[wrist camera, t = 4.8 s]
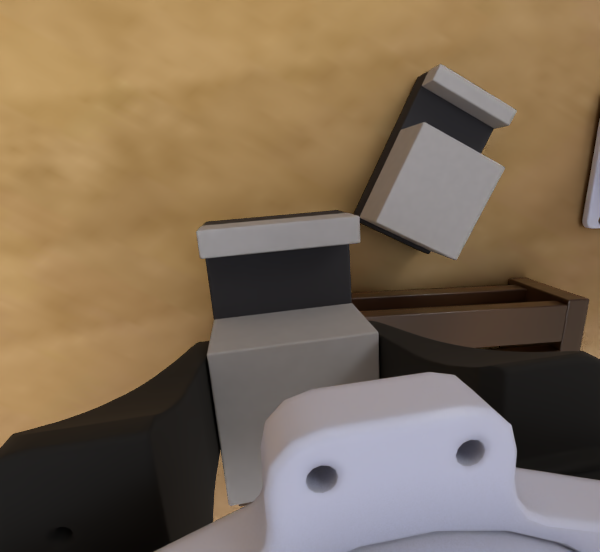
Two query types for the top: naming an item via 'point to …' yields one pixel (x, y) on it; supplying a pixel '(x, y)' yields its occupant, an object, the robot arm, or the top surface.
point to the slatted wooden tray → (484, 315)
